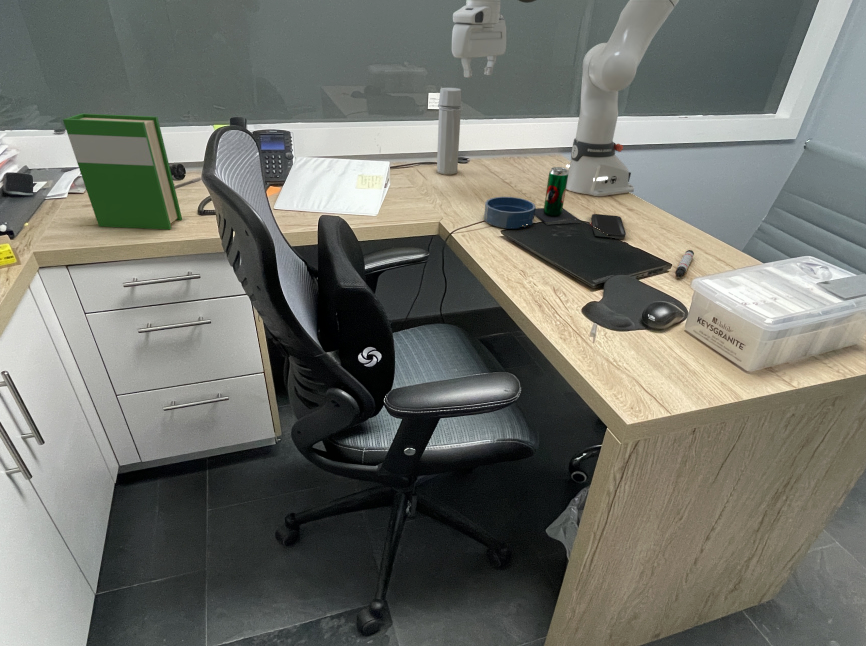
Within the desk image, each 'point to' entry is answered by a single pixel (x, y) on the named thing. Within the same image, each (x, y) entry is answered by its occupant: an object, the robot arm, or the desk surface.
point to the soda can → (555, 191)
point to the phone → (609, 225)
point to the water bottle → (448, 130)
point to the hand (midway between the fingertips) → (478, 75)
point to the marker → (684, 263)
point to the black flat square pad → (545, 218)
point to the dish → (509, 212)
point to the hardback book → (124, 170)
